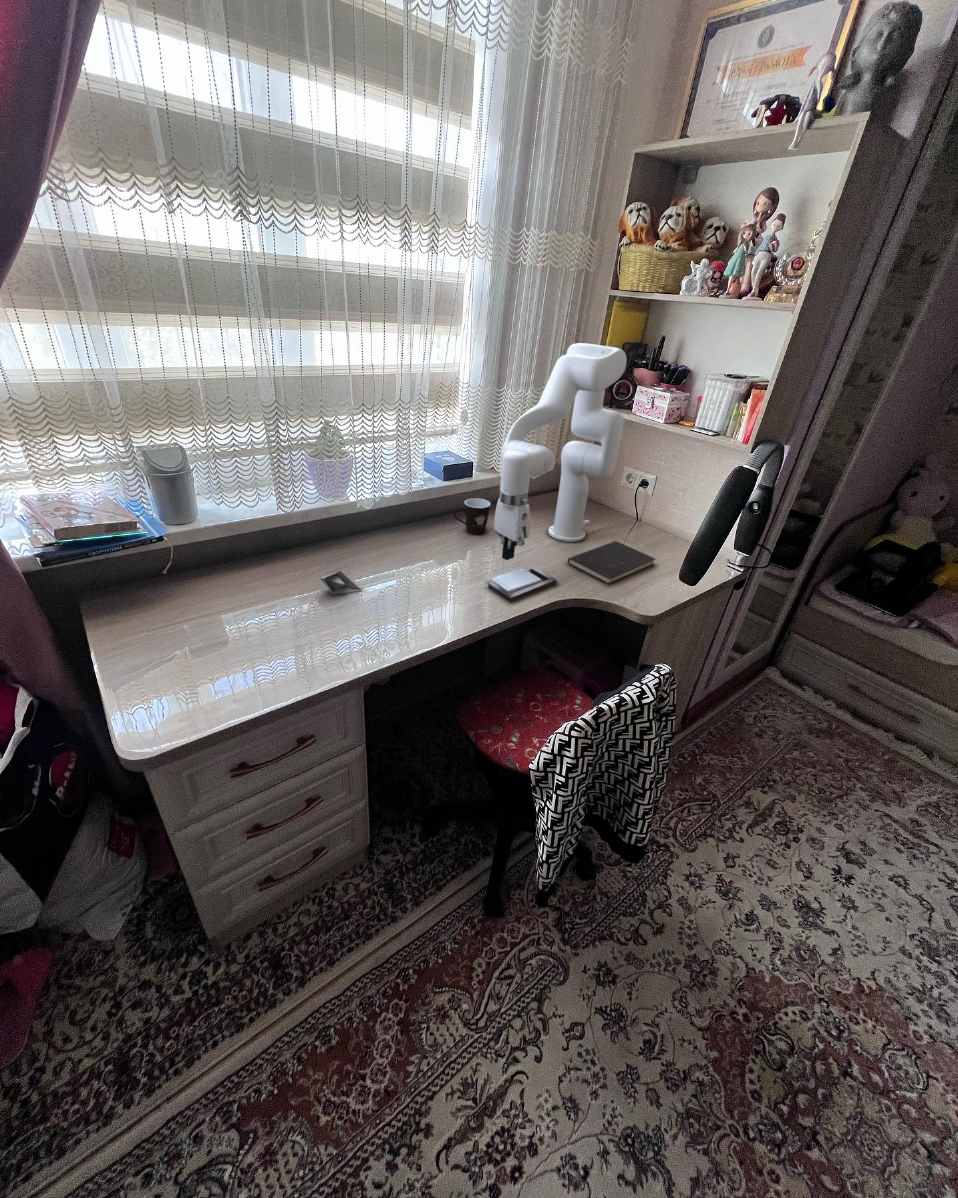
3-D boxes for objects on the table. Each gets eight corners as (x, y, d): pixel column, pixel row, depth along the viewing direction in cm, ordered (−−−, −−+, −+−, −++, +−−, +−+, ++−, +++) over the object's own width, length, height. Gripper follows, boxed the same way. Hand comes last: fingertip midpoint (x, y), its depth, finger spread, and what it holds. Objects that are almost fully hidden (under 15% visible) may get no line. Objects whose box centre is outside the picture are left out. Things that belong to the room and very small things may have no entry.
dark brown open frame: (533, 571, 157) (534, 566, 156) (556, 584, 151) (557, 579, 151) (487, 588, 147) (488, 583, 146) (510, 602, 141) (511, 597, 140)
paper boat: (351, 575, 145) (371, 579, 139) (345, 597, 145) (365, 602, 139) (313, 563, 136) (333, 567, 130) (307, 587, 136) (326, 592, 130)
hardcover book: (653, 565, 166) (655, 558, 165) (608, 585, 153) (610, 578, 152) (613, 546, 176) (614, 540, 175) (567, 563, 163) (568, 556, 162)
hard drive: (522, 567, 155) (489, 577, 148) (541, 579, 150) (508, 590, 143) (522, 572, 156) (489, 582, 149) (541, 584, 151) (507, 595, 144)
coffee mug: (489, 527, 183) (491, 499, 178) (487, 537, 176) (489, 509, 170) (456, 523, 184) (457, 496, 178) (452, 533, 176) (453, 505, 171)
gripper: (543, 503, 139) (535, 564, 149) (505, 486, 148) (500, 545, 158) (522, 509, 135) (516, 572, 144) (484, 491, 144) (480, 551, 154)
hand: (507, 557), depth 151 cm, fingers closed
